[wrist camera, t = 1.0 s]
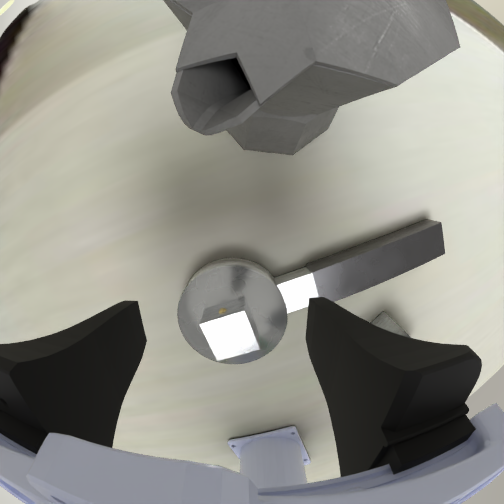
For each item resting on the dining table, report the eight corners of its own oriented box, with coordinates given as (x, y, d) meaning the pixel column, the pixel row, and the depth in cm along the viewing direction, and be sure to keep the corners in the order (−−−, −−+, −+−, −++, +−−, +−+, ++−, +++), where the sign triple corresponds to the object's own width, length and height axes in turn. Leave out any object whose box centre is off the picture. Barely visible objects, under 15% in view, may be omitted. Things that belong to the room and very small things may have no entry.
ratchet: (433, 273, 21) (465, 290, 17) (207, 356, 23) (199, 393, 18) (420, 190, 20) (457, 193, 15) (169, 276, 21) (148, 300, 16)
